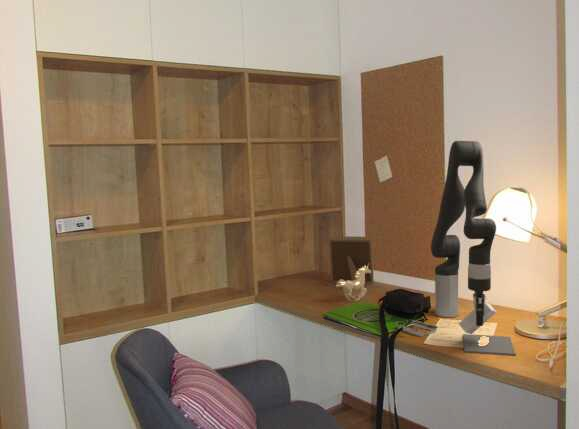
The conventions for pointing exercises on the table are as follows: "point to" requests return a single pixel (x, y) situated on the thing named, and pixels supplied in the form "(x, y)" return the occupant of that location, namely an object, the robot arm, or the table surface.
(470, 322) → the skincare box
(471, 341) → the charcoal mat
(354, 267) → the photo frame
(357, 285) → the unicorn
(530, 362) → the table surface
